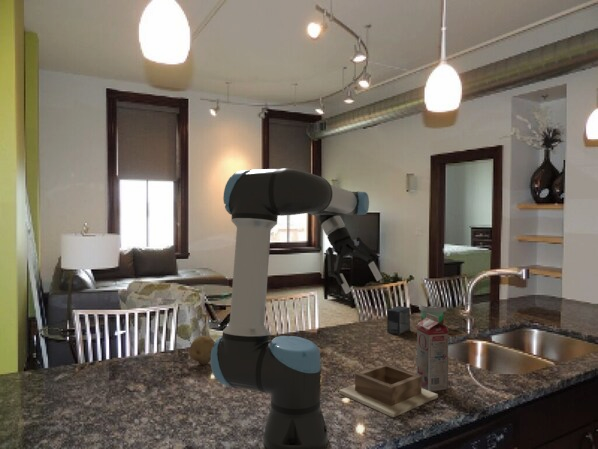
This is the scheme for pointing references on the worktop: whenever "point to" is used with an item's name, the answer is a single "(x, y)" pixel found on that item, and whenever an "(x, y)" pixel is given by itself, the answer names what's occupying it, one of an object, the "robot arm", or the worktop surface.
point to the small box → (398, 320)
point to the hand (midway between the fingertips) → (364, 286)
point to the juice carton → (432, 353)
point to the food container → (433, 312)
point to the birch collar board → (388, 390)
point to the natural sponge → (201, 349)
